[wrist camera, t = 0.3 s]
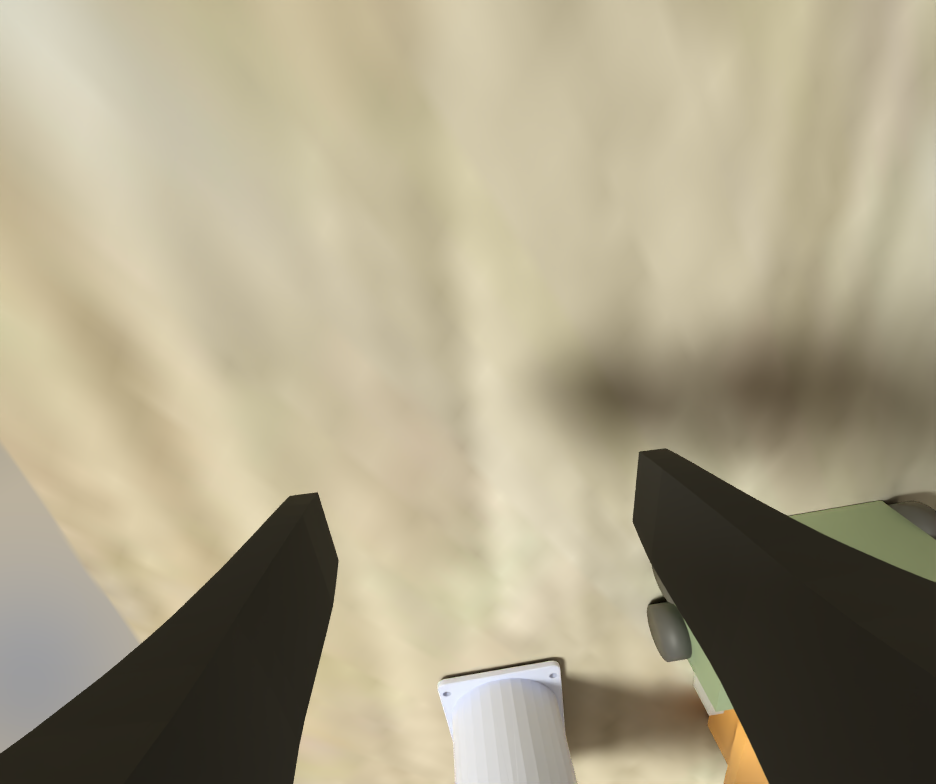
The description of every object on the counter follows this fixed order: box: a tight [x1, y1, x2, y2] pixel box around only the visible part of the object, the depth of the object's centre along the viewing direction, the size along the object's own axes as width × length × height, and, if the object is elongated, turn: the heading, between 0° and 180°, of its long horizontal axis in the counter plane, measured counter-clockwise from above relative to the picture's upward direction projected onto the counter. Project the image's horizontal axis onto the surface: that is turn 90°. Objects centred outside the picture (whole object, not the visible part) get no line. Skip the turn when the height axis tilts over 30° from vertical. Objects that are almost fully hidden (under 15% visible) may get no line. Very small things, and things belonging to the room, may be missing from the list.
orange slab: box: [708, 709, 769, 784], centre depth 30 cm, size 8×6×4 cm
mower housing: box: [647, 501, 936, 716], centre depth 24 cm, size 16×14×8 cm
